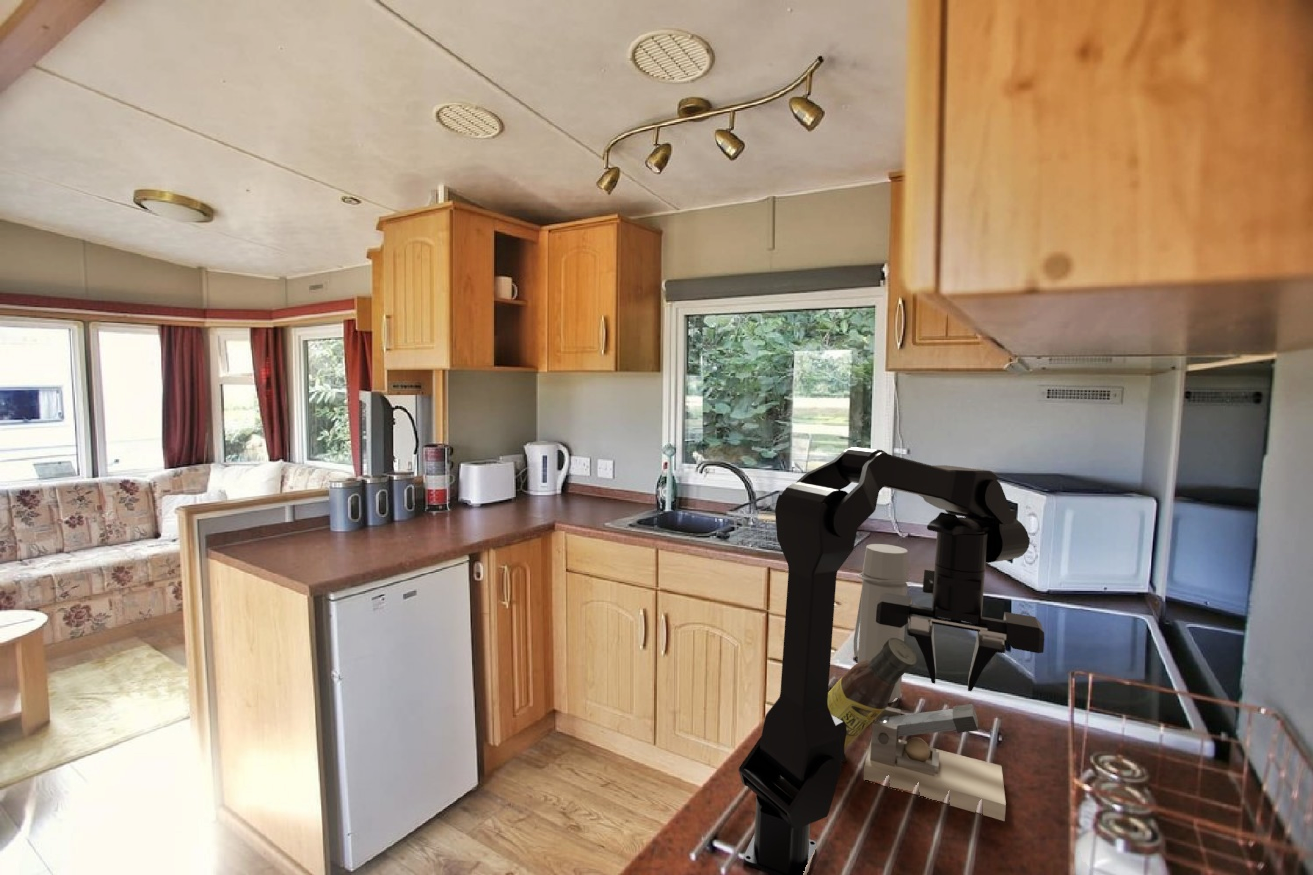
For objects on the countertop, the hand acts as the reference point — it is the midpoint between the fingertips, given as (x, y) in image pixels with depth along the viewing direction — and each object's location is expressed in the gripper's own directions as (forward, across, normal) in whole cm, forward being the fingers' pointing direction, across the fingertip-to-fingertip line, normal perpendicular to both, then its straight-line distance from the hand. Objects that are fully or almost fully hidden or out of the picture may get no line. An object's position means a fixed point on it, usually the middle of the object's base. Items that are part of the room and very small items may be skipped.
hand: (951, 685), depth 79 cm
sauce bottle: (+12, +16, 0) cm, 20 cm away
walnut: (+10, +4, 0) cm, 10 cm away
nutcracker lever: (+6, +2, 0) cm, 7 cm away
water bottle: (+13, +12, -22) cm, 28 cm away
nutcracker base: (+13, +2, 0) cm, 13 cm away
